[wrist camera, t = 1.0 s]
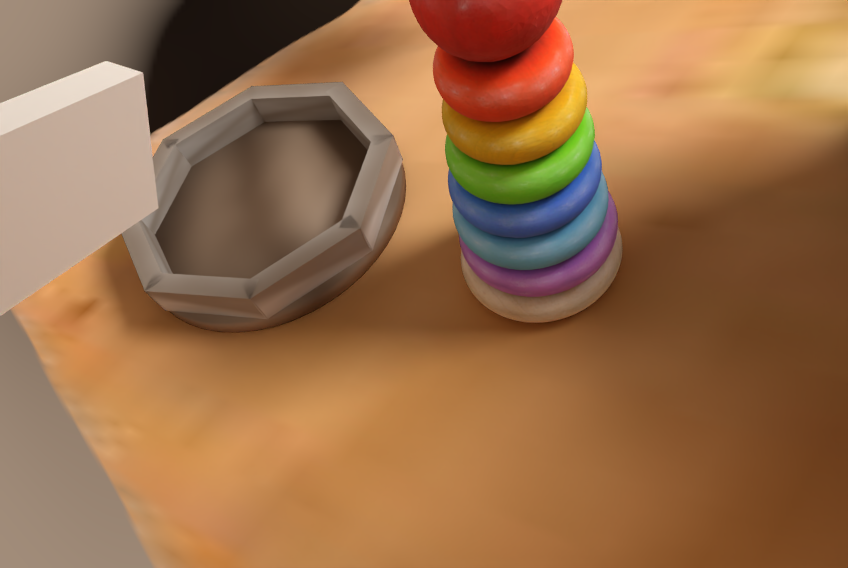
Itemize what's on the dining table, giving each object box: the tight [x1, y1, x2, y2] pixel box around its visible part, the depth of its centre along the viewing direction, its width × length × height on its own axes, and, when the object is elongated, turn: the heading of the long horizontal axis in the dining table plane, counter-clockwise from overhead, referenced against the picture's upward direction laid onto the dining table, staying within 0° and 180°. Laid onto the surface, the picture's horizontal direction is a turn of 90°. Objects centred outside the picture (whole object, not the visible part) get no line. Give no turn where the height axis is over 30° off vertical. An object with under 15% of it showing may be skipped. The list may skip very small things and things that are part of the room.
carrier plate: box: [121, 82, 406, 332], centre depth 41 cm, size 17×17×3 cm
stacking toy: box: [409, 0, 622, 323], centre depth 28 cm, size 8×8×19 cm
